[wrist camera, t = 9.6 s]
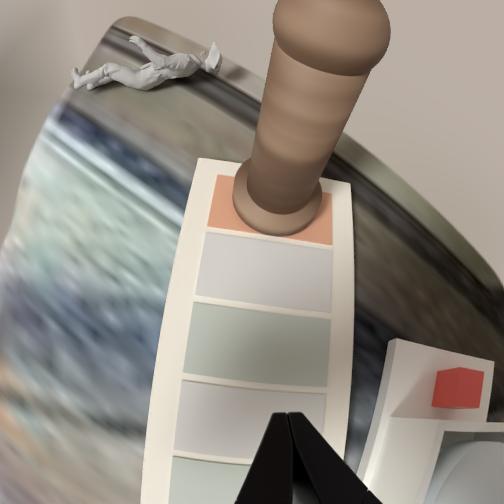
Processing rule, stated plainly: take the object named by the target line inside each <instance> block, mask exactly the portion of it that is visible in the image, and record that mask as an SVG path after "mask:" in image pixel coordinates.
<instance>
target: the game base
mask: <svg viewBox="0 0 504 504" xmlns="http://www.w3.org/2000/svg"><path fill="white" fill-rule="evenodd" d="M493 371H494V361H489V360H485V359H480V358H476V357H472V356H467V355H463V354H459V353H454V352H450V351H446V350H442V349H438V348H434V347H429V346H425V345H421V344H417V343H413V342H410V341H406V340H402V339H398V338H396V339H393V340H390V341H388V347H387V353H386V358H385V364H384V369H383V374H382V379H381V384H380V388H379V393H378V397H377V402H376V406H375V410H374V414H373V418H372V422H371V426H370V430H369V434H368V437H367V441H366V444H365V448H364V451H363V455H362V458H361V461H360V465H359V468H358V471H357V474H356V475H357V476H358V478H359V479H360V480H361V481H362V482H363V483H364V484H365V485H366V486H367V487H368V490H370V491H371V492H372V493H373V494H374V495H375V496H376V497H377V498H378V499H379V500H380V501H381V502H382V503H383V504H423V502H424V499H425V496H426V493H427V491H428V488H429V484H430V481H431V478H432V475H433V472H434V468H435V465H436V461H437V458H438V454H439V452H440V451H442V450H443V449H445V448H446V447H448V446H449V445H451V444H453V443H456V442H459V441H464V440H470V441H489V442H501V443H504V423H494V422H486V419H487V414H488V408H489V402H490V395H491V388H492V380H493Z"/></svg>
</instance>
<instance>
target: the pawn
mask: <svg viewBox="0 0 504 504" xmlns="http://www.w3.org/2000/svg"><path fill="white" fill-rule="evenodd" d="M273 31H274V35H275V38H274V43H273V48H272V53H271V59H270V64H269V68H268V73H267V78H266V83H265V88H264V93H263V98H262V104H261V109H260V114H259V119H258V124H257V130H256V135H255V140H254V146H253V151H252V156H251V158H249V159H248V160H246V161H245V162H244V163H243V164H242V165H241V166H240V167H239V169H238V170H237V172H236V175H235V178H234V185H233V194H232V199H233V205H234V208H235V210H236V212H237V214H238V216H239V217H240V218H241V220H242V221H243V222H244V223H245V224H246V225H248V226H249V227H250V228H252V229H253V230H255V231H257V232H259V233H262V234H265V235H269V236H276V237H284V236H290V235H293V234H296V233H298V232H300V231H302V230H304V229H305V228H306V227H307V226H308V225H309V224H310V223H311V221H312V220H313V218H314V216H315V214H316V213H317V211H318V209H319V207H320V205H321V201H322V188H321V184H320V182H319V179H320V177H321V175H322V172H323V170H324V168H325V166H326V164H327V162H328V160H329V158H330V156H331V154H332V152H333V150H334V148H335V146H336V144H337V142H338V140H339V137H340V135H341V133H342V131H343V129H344V127H345V125H346V122H347V121H348V119H349V116H350V114H351V112H352V110H353V108H354V106H355V104H356V102H357V99H358V97H359V95H360V93H361V91H362V89H363V87H364V84H365V82H366V80H367V78H368V76H369V74H370V71H371V69H372V68H373V67H374V66H376V64H378V63H379V61H380V60H381V59H382V58H383V56H384V55H385V53H386V51H387V48H388V45H389V41H390V33H391V30H390V22H389V19H388V15H387V12H386V11H385V8H384V6H383V5H382V3H381V2H380V0H278V2H277V4H276V7H275V10H274V13H273Z"/></svg>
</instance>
